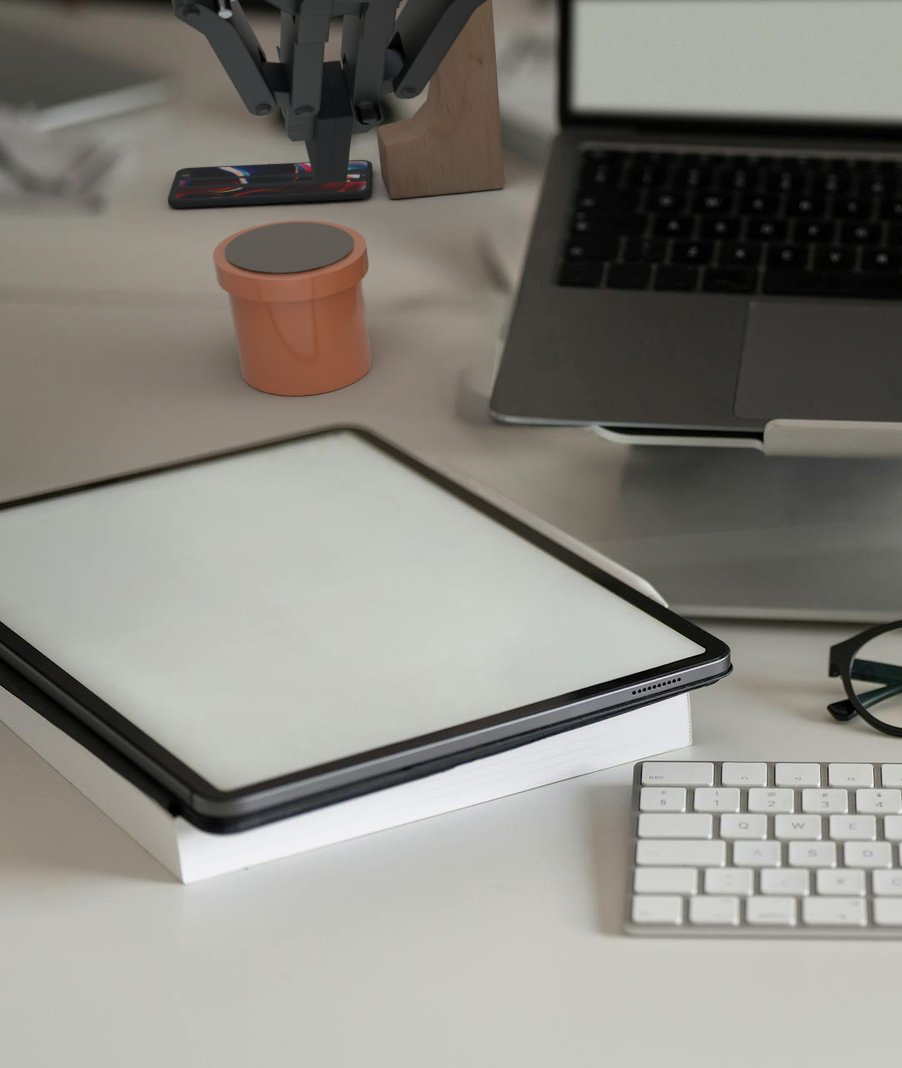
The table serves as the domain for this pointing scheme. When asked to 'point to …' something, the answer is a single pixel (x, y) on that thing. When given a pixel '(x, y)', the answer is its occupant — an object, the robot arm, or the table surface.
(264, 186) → the smartphone
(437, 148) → the wooden block
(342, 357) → the flower pot
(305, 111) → the robot arm
